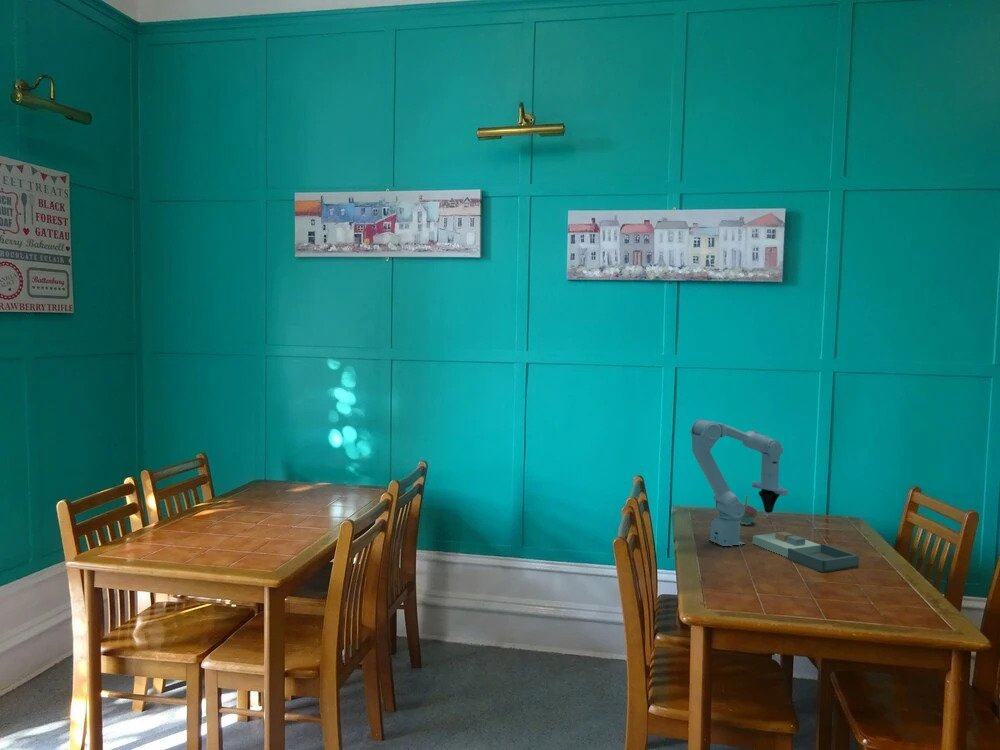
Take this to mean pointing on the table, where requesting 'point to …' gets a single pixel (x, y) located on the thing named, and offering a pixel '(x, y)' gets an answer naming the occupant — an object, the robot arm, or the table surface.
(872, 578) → the table surface
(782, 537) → the tile
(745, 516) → the cupcake
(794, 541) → the tile
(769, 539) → the large sage green panel
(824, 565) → the bin
